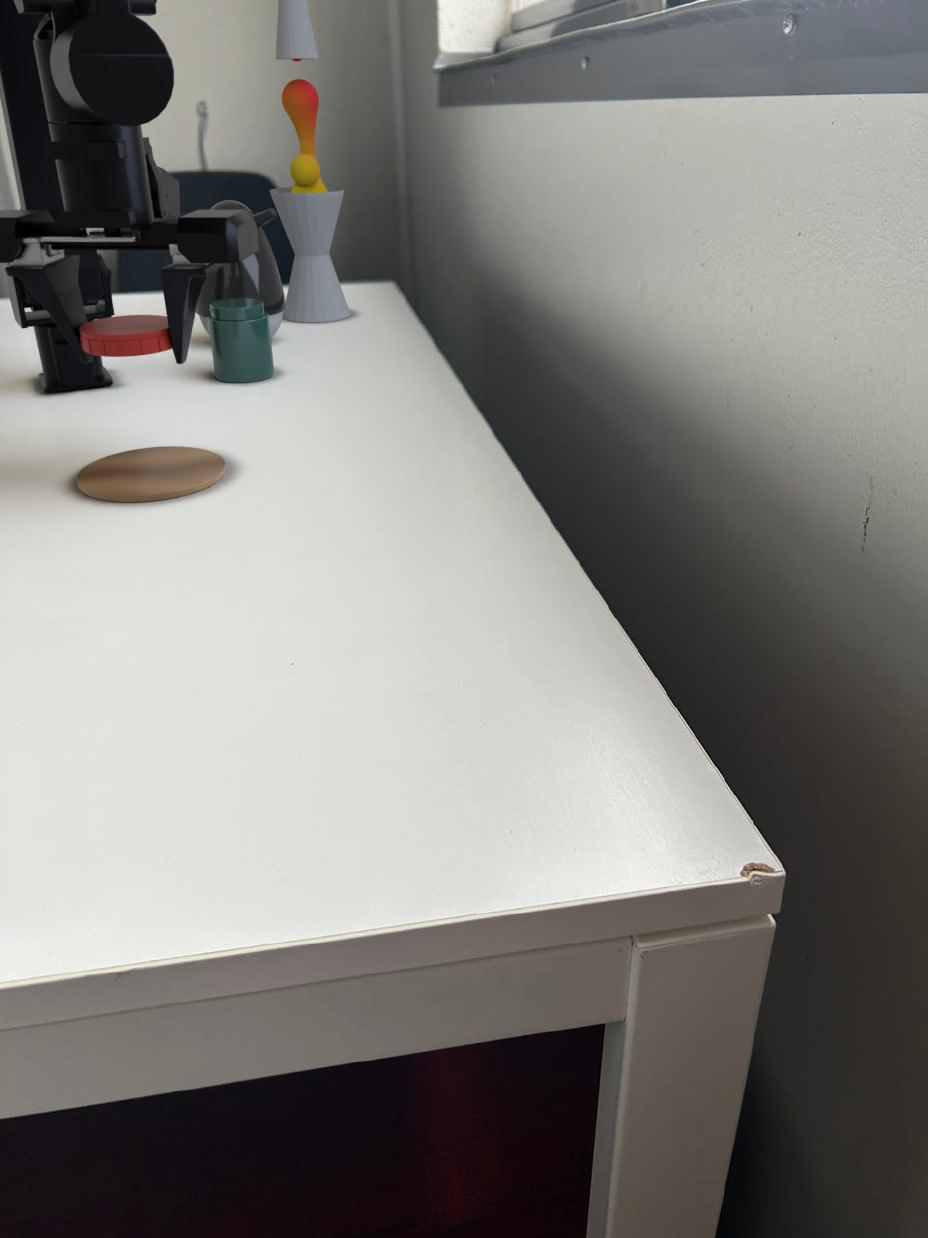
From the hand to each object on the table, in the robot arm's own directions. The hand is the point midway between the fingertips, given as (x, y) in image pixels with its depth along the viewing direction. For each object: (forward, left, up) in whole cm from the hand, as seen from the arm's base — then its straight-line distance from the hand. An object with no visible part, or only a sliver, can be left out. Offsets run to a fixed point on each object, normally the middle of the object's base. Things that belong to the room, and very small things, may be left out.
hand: (135, 362), depth 72 cm
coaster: (0, 0, -9) cm, 9 cm away
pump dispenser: (-41, +18, -9) cm, 45 cm away
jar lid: (0, 0, +2) cm, 2 cm away
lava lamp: (-51, +30, -9) cm, 60 cm away
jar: (-26, +14, -9) cm, 31 cm away
